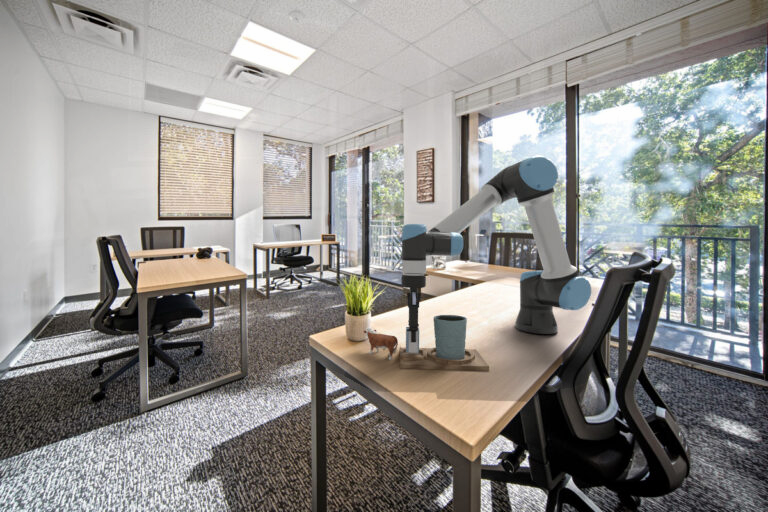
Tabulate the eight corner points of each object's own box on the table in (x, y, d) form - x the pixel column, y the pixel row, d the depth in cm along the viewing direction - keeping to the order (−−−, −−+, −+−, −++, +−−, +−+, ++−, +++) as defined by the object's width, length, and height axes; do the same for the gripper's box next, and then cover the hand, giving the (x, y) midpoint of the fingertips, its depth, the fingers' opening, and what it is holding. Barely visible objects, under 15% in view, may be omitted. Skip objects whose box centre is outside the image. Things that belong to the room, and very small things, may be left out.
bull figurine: (368, 349, 108) (368, 326, 108) (400, 358, 99) (400, 332, 99) (359, 353, 104) (359, 328, 104) (391, 362, 96) (392, 335, 96)
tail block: (418, 349, 100) (418, 327, 100) (419, 353, 96) (419, 330, 96) (405, 348, 100) (406, 326, 100) (405, 352, 96) (406, 329, 96)
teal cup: (450, 364, 90) (451, 322, 90) (426, 355, 99) (426, 316, 99) (473, 357, 96) (473, 318, 96) (448, 349, 105) (448, 313, 105)
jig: (475, 352, 105) (475, 346, 105) (489, 370, 89) (489, 362, 89) (400, 351, 106) (400, 344, 106) (400, 368, 90) (400, 360, 90)
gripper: (401, 272, 107) (400, 342, 107) (401, 276, 90) (400, 358, 90) (423, 272, 106) (423, 342, 106) (428, 276, 89) (427, 359, 89)
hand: (412, 349), depth 98 cm, fingers closed on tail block, 4 cm apart
